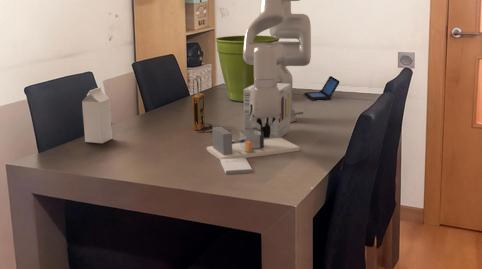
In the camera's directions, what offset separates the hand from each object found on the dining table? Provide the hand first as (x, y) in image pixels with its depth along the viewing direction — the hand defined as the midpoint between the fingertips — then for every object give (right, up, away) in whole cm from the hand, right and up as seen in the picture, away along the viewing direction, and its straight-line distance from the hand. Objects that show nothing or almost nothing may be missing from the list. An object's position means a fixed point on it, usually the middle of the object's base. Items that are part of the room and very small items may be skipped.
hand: (265, 137), depth 214 cm
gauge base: (-4, -4, -1) cm, 6 cm away
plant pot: (-5, +18, +86) cm, 88 cm away
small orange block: (-6, -4, -7) cm, 10 cm away
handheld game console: (+30, +18, +87) cm, 94 cm away
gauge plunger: (-6, -4, -3) cm, 8 cm away
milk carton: (-60, -2, +15) cm, 62 cm away
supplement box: (+2, +1, +21) cm, 21 cm away
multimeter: (-21, +3, +31) cm, 37 cm away
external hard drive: (-10, -10, -18) cm, 23 cm away
